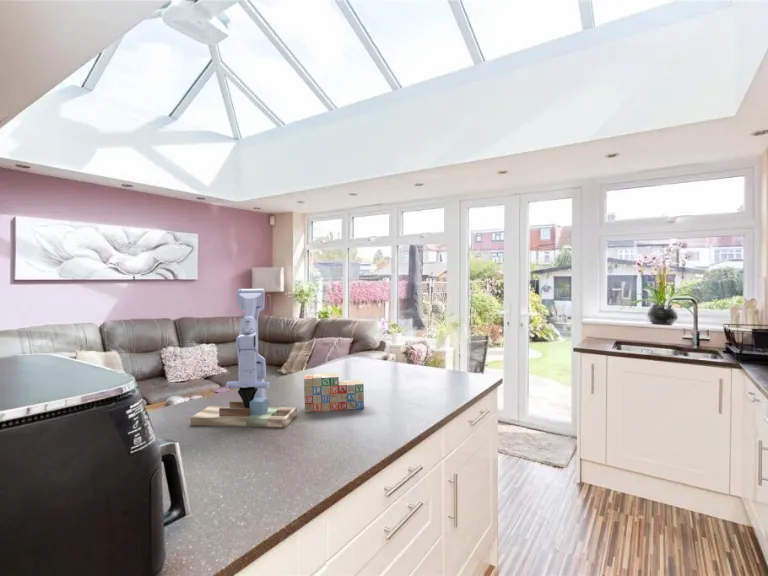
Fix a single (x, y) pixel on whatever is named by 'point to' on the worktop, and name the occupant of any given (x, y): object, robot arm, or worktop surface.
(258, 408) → the block
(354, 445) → the worktop surface
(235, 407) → the board
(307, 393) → the stack of blocks
